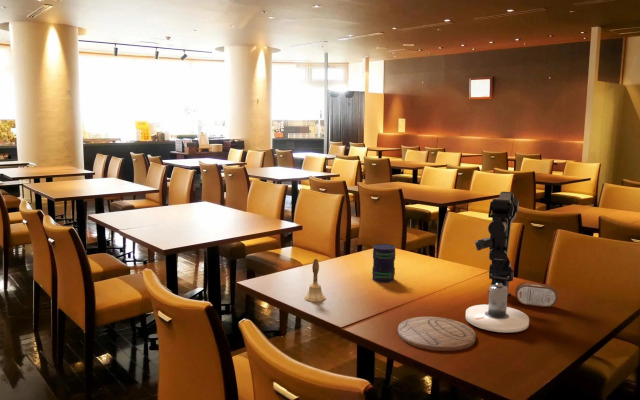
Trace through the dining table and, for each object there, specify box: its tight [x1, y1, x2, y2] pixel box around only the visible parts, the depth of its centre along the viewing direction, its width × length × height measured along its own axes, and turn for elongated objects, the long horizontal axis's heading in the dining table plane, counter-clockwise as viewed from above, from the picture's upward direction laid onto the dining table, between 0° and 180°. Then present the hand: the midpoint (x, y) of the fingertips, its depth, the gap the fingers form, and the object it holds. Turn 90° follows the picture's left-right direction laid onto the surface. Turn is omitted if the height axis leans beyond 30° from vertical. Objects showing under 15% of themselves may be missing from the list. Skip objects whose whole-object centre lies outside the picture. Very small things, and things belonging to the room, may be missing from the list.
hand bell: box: [304, 258, 326, 303], centre depth 207 cm, size 8×8×16 cm
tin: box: [515, 282, 558, 308], centre depth 203 cm, size 15×3×8 cm, turn 71°
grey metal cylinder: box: [488, 283, 509, 318], centre depth 184 cm, size 6×6×11 cm
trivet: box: [397, 316, 476, 352], centre depth 174 cm, size 25×25×2 cm
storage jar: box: [371, 243, 396, 284], centre depth 233 cm, size 10×10×15 cm
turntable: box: [465, 304, 530, 333], centre depth 185 cm, size 21×21×2 cm
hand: (496, 272), depth 200 cm, fingers open, 9 cm apart
